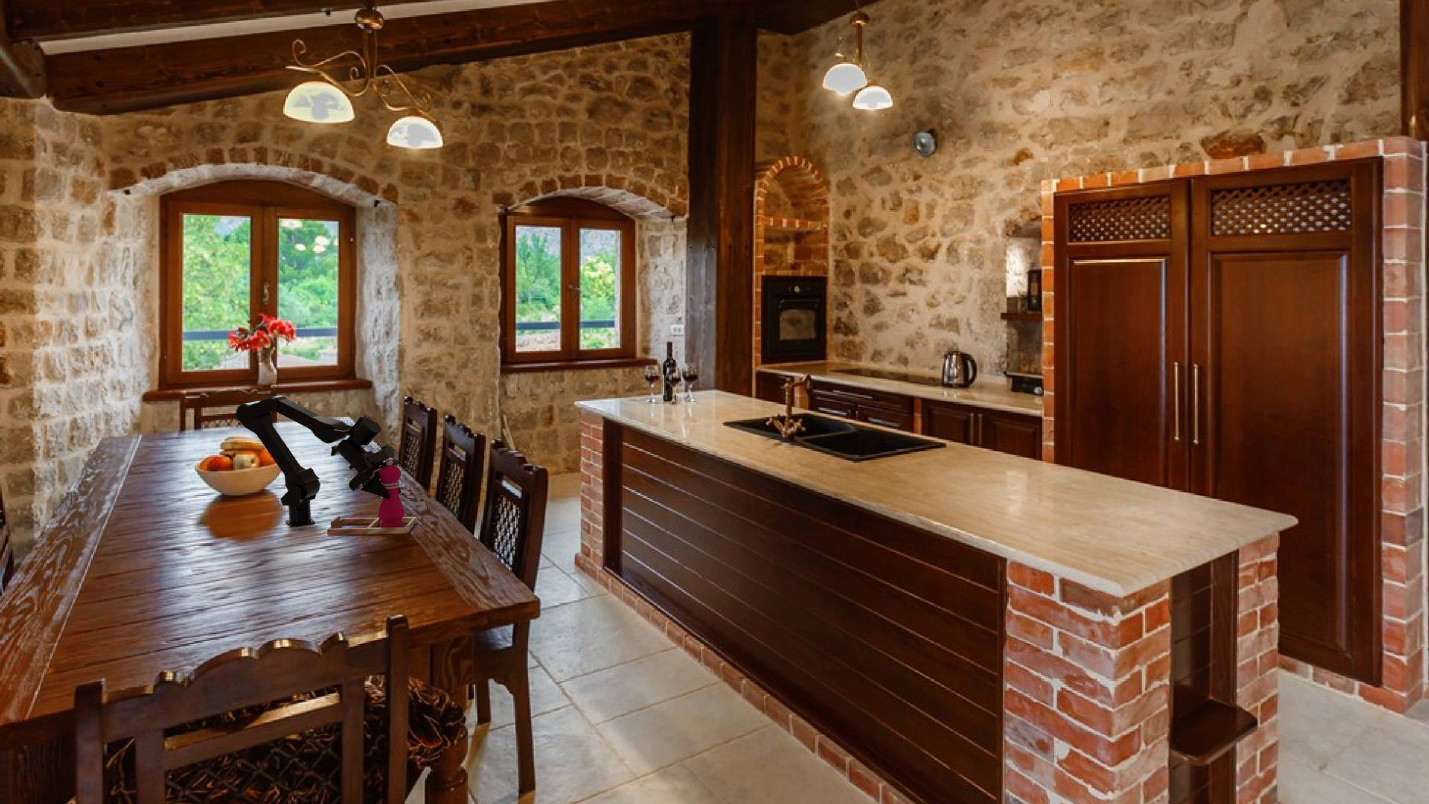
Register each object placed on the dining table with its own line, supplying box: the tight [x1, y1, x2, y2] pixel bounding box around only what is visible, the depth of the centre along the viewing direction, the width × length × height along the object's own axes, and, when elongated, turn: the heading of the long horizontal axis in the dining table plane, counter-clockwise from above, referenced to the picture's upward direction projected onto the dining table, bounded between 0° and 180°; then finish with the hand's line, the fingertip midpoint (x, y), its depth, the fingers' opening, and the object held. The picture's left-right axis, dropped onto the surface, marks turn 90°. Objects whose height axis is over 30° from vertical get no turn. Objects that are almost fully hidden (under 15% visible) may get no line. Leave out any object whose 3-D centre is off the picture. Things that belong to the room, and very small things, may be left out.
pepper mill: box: [377, 459, 406, 528], centre depth 233 cm, size 7×7×20 cm
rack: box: [326, 515, 418, 536], centre depth 234 cm, size 21×11×3 cm, turn 96°
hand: (395, 495), depth 233 cm, fingers open, 5 cm apart
